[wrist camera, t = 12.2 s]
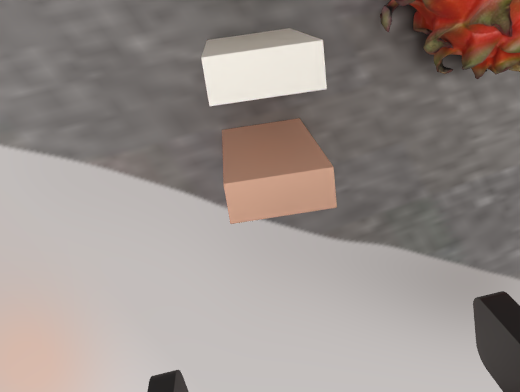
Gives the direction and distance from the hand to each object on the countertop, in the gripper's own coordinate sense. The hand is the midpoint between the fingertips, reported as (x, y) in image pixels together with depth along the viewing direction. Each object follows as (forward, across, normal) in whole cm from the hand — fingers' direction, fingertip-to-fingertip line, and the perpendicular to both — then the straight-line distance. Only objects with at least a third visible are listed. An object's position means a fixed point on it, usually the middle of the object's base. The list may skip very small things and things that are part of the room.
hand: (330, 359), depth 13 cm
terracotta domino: (+20, 0, -1) cm, 20 cm away
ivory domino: (+20, -1, -6) cm, 21 cm away
